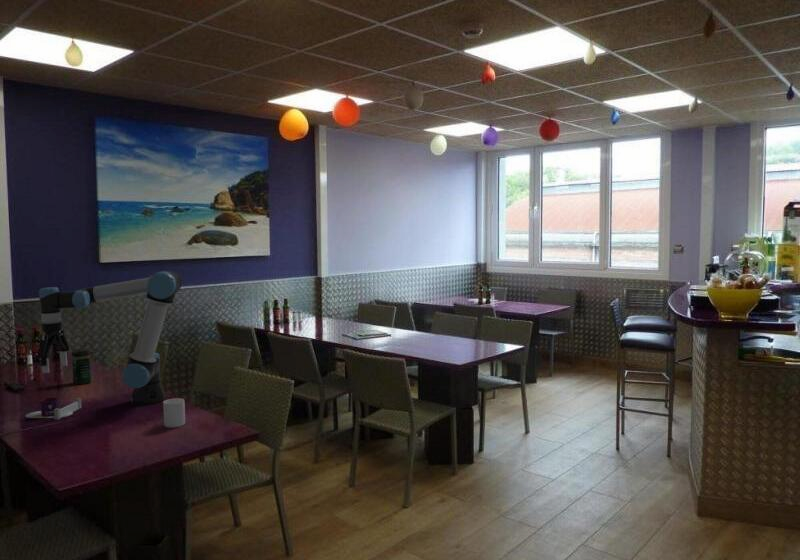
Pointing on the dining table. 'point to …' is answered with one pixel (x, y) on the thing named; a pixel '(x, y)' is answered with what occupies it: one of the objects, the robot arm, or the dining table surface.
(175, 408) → the cup
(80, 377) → the coffee jar
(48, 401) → the cup
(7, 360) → the dining table surface
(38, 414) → the pad
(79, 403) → the divider wall
